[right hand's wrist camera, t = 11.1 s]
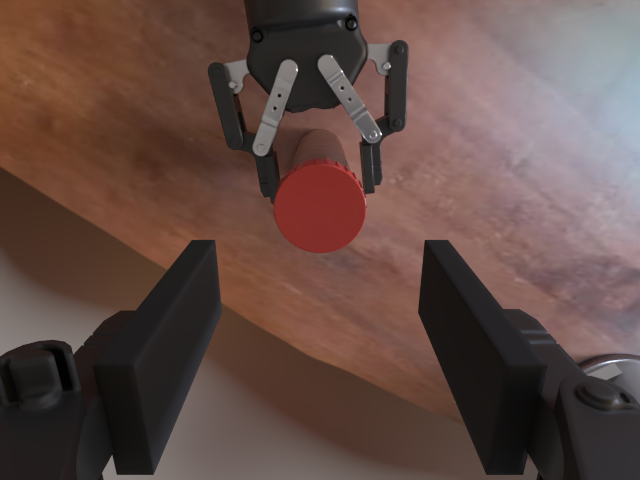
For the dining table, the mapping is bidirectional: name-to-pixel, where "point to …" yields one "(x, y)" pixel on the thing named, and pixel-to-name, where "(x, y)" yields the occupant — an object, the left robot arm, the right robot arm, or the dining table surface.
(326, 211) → the lid
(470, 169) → the dining table surface
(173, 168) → the dining table surface
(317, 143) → the brown tall cylinder
